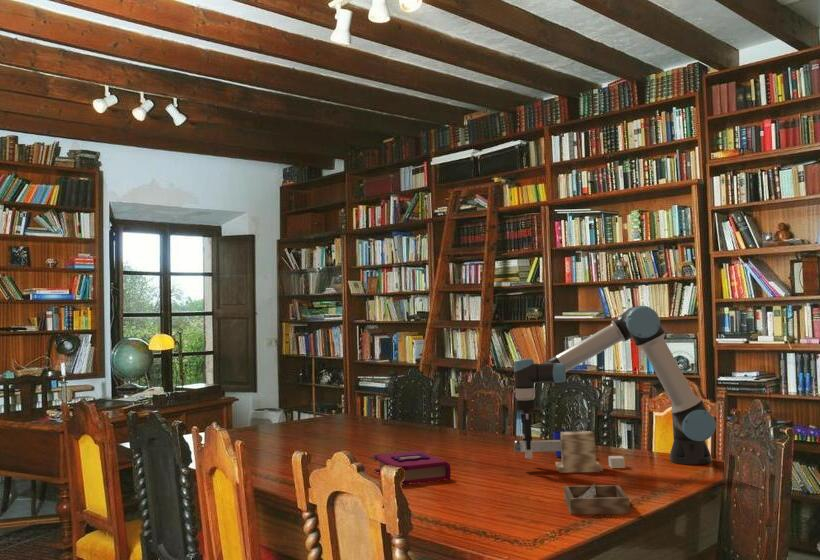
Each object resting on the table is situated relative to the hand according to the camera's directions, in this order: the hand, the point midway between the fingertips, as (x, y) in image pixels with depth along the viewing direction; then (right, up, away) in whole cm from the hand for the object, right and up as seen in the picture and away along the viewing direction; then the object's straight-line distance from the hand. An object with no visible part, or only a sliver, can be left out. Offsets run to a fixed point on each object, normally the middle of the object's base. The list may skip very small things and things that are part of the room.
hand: (527, 454), depth 285 cm
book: (-45, -8, -3) cm, 46 cm away
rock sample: (+9, -3, -57) cm, 57 cm away
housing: (+19, -5, -2) cm, 20 cm away
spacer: (+33, 0, -3) cm, 33 cm away
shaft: (+9, +1, -1) cm, 9 cm away
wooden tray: (+11, -2, -59) cm, 60 cm away
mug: (+20, -6, +22) cm, 31 cm away
